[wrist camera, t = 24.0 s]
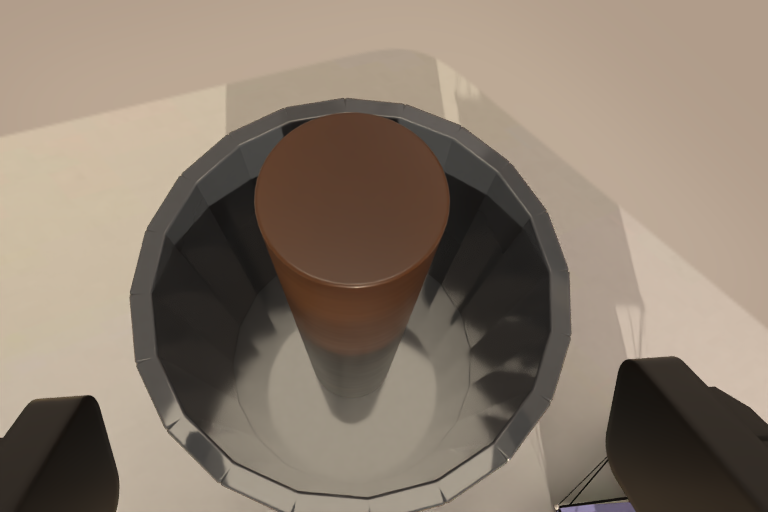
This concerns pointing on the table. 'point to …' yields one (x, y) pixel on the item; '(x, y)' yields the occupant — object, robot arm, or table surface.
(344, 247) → the cylinder
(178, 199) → the tin
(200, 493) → the table surface
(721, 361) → the table surface
